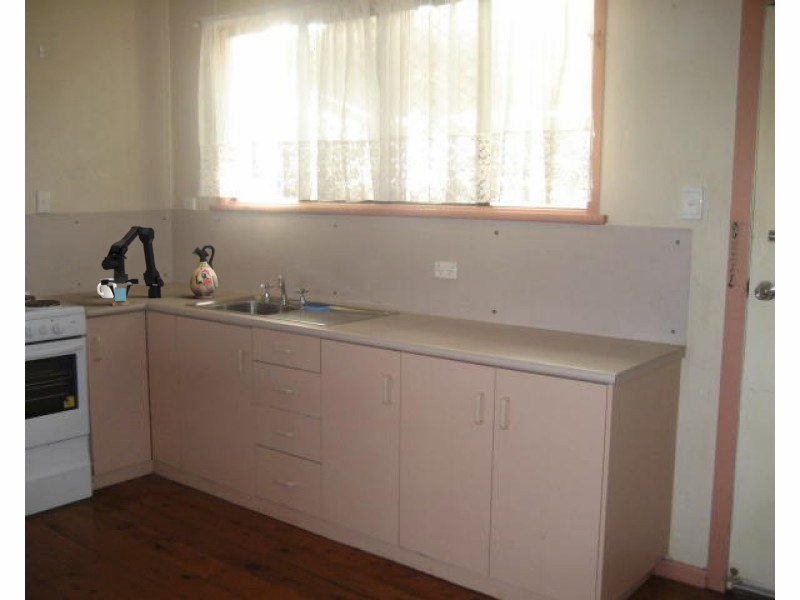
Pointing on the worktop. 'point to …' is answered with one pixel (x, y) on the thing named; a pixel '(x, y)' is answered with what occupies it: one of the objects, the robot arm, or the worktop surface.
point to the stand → (120, 303)
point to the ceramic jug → (204, 275)
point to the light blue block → (120, 293)
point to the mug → (106, 290)
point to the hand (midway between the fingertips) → (120, 297)
